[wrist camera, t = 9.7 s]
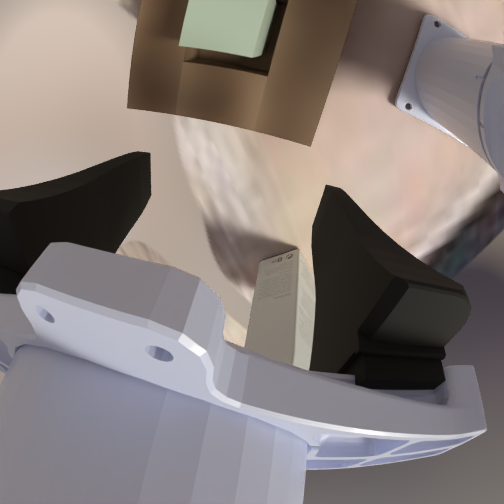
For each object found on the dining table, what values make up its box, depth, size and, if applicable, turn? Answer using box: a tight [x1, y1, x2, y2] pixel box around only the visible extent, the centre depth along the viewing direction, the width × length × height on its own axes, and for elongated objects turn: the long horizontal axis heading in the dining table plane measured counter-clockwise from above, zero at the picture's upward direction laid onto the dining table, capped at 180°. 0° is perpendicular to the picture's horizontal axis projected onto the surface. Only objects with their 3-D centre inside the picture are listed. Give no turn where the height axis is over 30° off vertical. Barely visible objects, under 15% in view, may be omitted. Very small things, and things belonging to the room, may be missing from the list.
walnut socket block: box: [127, 0, 358, 147], centre depth 14 cm, size 12×12×4 cm
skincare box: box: [244, 249, 316, 370], centre depth 24 cm, size 6×4×12 cm
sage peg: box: [179, 0, 279, 58], centre depth 12 cm, size 4×4×6 cm
